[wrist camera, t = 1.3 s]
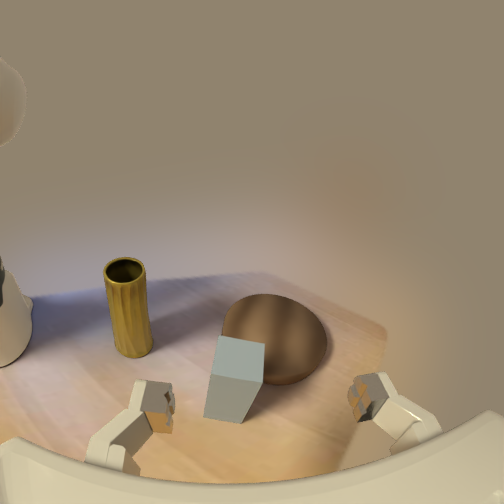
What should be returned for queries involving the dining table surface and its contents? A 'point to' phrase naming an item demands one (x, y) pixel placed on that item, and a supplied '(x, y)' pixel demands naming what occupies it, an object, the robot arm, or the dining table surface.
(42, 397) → the dining table surface
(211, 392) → the gray block
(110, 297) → the vase
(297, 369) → the walnut base
